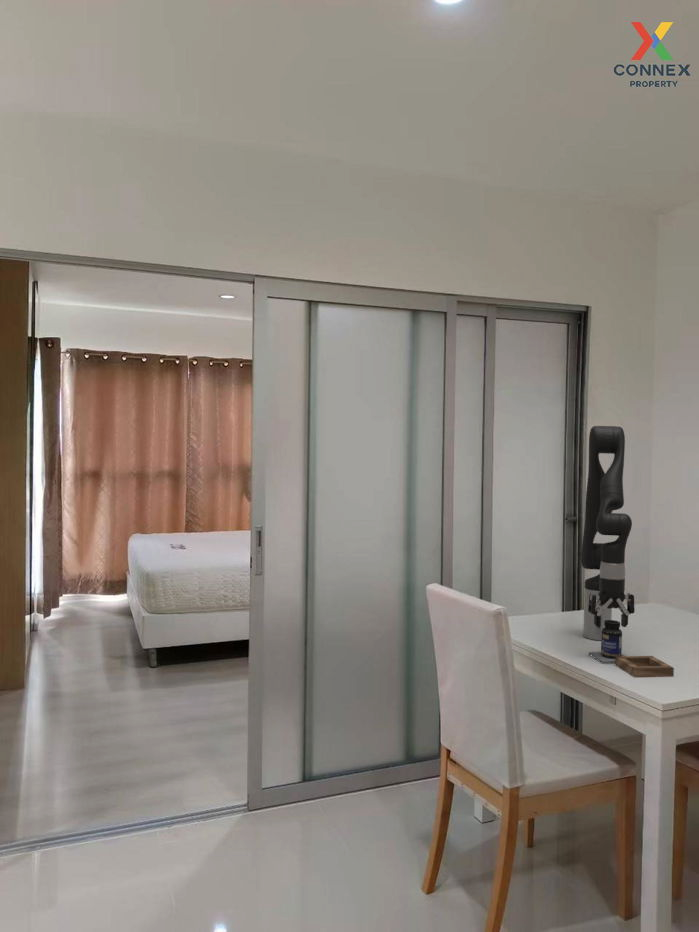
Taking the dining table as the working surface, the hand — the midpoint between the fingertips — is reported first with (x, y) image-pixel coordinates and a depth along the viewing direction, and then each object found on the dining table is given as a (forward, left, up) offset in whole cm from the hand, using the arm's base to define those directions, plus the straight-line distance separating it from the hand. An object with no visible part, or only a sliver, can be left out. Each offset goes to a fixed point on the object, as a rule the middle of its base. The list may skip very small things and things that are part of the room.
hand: (610, 626), depth 228 cm
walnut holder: (+12, +4, -10) cm, 17 cm away
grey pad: (0, 0, -10) cm, 10 cm away
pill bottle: (0, 0, -10) cm, 10 cm away
